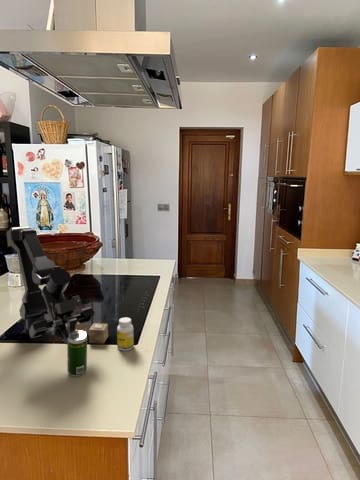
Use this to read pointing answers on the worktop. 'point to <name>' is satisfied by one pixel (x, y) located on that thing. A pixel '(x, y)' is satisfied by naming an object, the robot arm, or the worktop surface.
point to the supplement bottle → (125, 334)
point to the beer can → (77, 353)
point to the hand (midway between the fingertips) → (72, 347)
